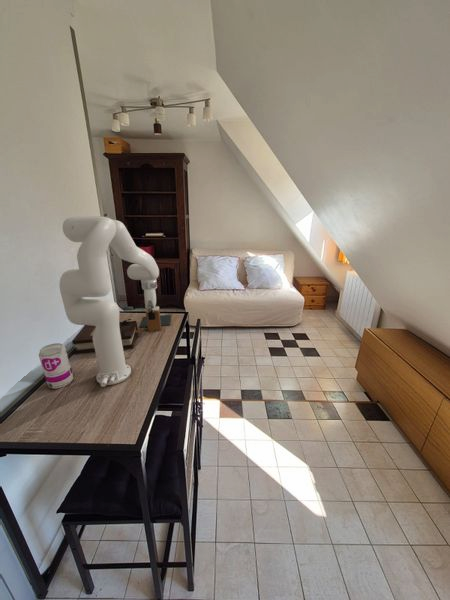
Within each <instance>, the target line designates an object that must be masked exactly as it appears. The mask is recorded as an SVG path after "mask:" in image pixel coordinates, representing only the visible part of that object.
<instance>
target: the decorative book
mask: <svg viewBox="0 0 450 600" xmlns="http://www.w3.org/2000/svg"><path fill="white" fill-rule="evenodd" d="M137 322H138V321H137V320H132V318H128V319H127V320H123V321H119V327H120V334H121V340H122V345H123V350H130V349H131V350H132V349H134V346H135V343H136V340H137V337H138V334H139V333H141V331H142V329H138V328H139V327H138V323H137ZM95 331H96V326H91V325H83V326H82V327H81V329H80V331H78V332H77V334H76V335H75V336H74V337H73V339H72V340H71V343H72V345H74V346H73V348H75V350H74V354H75V355H80V354H90V353H95V348H94V344H93V334H94V332H95Z"/></svg>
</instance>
